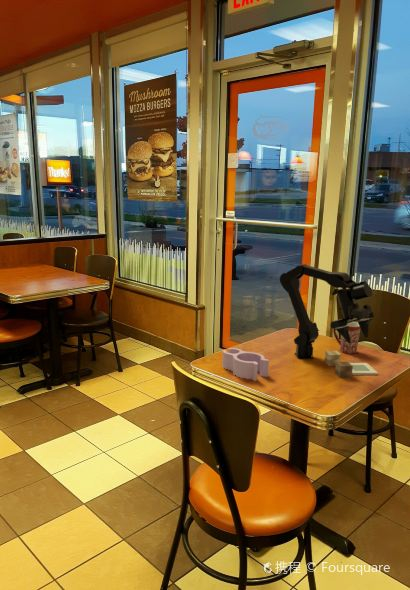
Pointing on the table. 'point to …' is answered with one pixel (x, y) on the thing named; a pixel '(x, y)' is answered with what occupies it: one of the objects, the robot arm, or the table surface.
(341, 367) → the walnut cube
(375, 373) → the plate
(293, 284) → the robot arm
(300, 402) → the table surface
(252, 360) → the clip
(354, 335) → the mug
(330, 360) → the maple cube
